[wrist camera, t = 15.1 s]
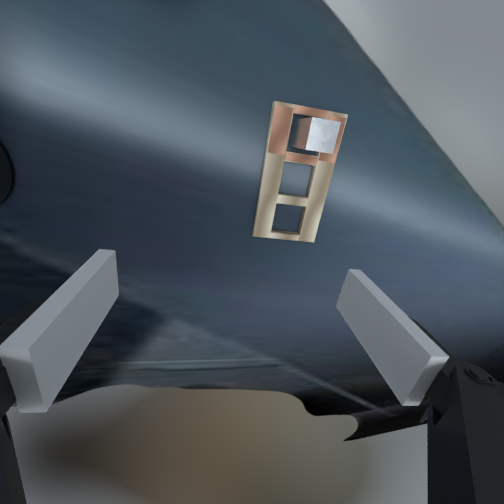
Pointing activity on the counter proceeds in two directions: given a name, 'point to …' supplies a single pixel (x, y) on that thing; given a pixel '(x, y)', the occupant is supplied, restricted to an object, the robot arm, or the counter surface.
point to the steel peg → (315, 134)
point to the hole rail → (274, 168)
